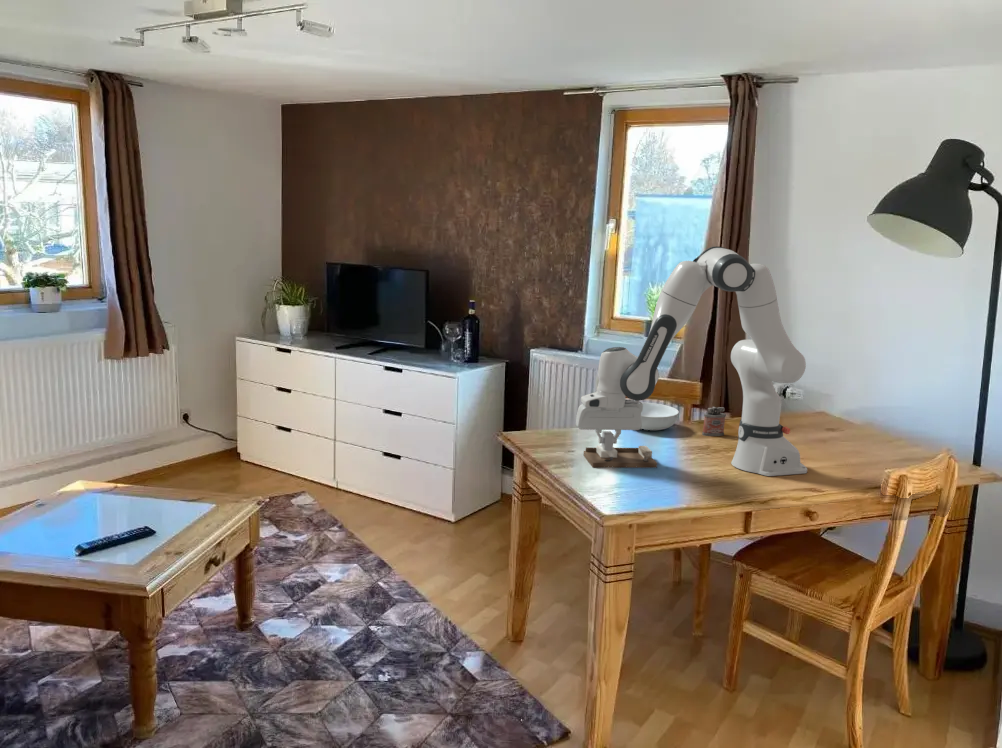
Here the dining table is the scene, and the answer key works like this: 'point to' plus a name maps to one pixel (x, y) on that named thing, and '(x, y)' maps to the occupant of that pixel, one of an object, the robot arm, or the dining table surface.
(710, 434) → the lighter
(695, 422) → the dining table surface
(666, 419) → the serving bowl
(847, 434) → the dining table surface
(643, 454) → the brown board with blocks
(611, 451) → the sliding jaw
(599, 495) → the dining table surface
